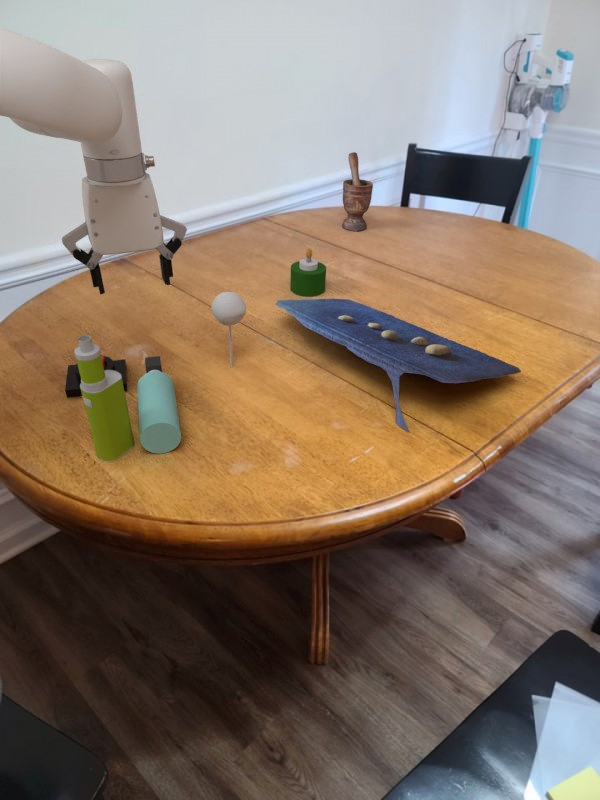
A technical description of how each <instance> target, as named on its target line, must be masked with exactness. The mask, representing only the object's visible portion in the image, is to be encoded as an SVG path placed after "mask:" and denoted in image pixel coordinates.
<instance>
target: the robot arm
mask: <svg viewBox="0 0 600 800" xmlns="http://www.w3.org/2000/svg"><path fill="white" fill-rule="evenodd" d="M134 89H135V88H134V81H133V77H132V72H131V70H130V68H129V67H128V66H127V64H125V63H124V62H122V61H120V60H115V59H105V58H91V59H88V58H87V59H81V60H80V59H78V58H76V57H75V56H72V55H70V54H68V53H66V52H64V51H62V50H60V49H58V48H56V47H53V46H51V45H48V44H46V43H44V42H42V41H39V40H37V39H35V38H31V37H29V36H27V35H24V34H22V33H20V32H19V33H18V32H16V31H13V30H10V29H8V28H5V27H2V26H0V116H1V117H6V118H9V119H10V120H11V122H13V123H14V124H15V125H16V126H17V127H20V128H21V129H23V130H25V131H27V132H30V133H31V134H35V135H39V136H45V137H50V138H56V139H64V140H69V141H74V142H77V143H80V147H81V151H82V158H83V162H84V167H85V172H86V176H83V177H82V178H81V199H82V207H83V213H84V220H85V222H83V223H81V224H80V225H78V226H77V227H75V228H74V229H72V230H70V232H67V233H66V234H64V235H63V236H62V238H61V243H62V245H63V246H64V247H65V248H66V249H67V251H68V252H69V253H70V254H71V256H72V257H73V258H74V259H75V260H77V261H78V262H80V263H81V264H83V265H84V266H86V267H87V269H89V274H90V278H91V283H92V286H93V287H92V288H98V292H99V295H105V293H106V292H105V286H104V281H103V277H102V271H101V267H100V263H99V262H100V261H101V260H102V258H103V256H112V255H119V254H128V253H136V252H145V251H153V250H156V251H157V252H158V253H159V255H158V256H159V265H160V272H161V278H162V280H163V283H164V285H165V286H170V285H171V278H173V277H174V272H173V262H172V260H173V259H174V255H175V254H176V253H177V252H178V250H179V249H180V248H181V247H182V243H183V240H184V239H185V236H186V233H187V231H188V228H187V227H186V225H185V224H184V223H182V222H180V221H177V220H175V219H172V218H169V217H166V216H164V215H161V213H160V208H159V203H158V199H157V196H156V192H155V188H154V185H153V180H152V177H151V175H150V174H149V173H148V172H146V171H147V170H148V169H149V168H151V167H152V168H153V167H156V163H155V157H154V155H147V154H145V153H144V152H143V150H142V142H141V134H140V127H139V121H138V113H137V105H136V96H135V90H134ZM163 228H165V229H168V230H170V231H173V232H174V233H173V236H172V237H171V238H170V239H169V241H168V242H167V243H166V242H164V231H163V230H164V229H163ZM86 236H88V237H87V238H88V240H89V242H90V243H89V244H90V245H91V247H90V249H89V250H88V252H86V251H85V250H84V249H82V248H80V247H79V246H78V244H77V242H79V241H80V240H82V239H84V238H85V237H86Z"/></svg>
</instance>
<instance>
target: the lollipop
mask: <svg viewBox="0 0 600 800" xmlns="http://www.w3.org/2000/svg"><path fill="white" fill-rule="evenodd" d="M211 312H212V315H213V317H214V319H215V321H217V322H218V323H220V324H221V325H224V326H228V327H227V328H228V344H229V345H228V346H229V365H230V368H233V367H234V361H233V360H234V359H233V339H232V337H233V335H232V326H234V325H238V324H239V323H240V322H241V321H242V320H243V319H244V317H245V314H246V312H247V305H246V301H244V299H243V297H242V296H241V295H240V294H238V293H237V292H234V291H230V290H229V291H222V292H220V293H219V294H218V295H216V296H215V298H214V299H213V301H212V303H211Z"/></svg>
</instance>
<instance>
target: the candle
mask: <svg viewBox="0 0 600 800" xmlns="http://www.w3.org/2000/svg"><path fill="white" fill-rule="evenodd" d="M312 256H313V250H312V249H311V248H307V249H306V251H305V258H302V259H300V260H298V261H295V262H293V263H291V264H290V279H289V280H290V282H289V283H290V285H289V288H290V292H291V293H293V294H294V295H296V296H300V297H305V298H311V297H317V296H321V295H323V294H324V293H325V292H326V279H327V266H326V265H325V264H324V263H322V262H320V261H318V260H316V259H314V258H312Z"/></svg>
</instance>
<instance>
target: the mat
mask: <svg viewBox="0 0 600 800" xmlns="http://www.w3.org/2000/svg"><path fill="white" fill-rule="evenodd" d="M275 306H276V307H278V308H279V309H281V310H284V311H286V312H287V313H289V314H290V315H291V316H293V317H294V318H295V319H296V320H297V322H298V323H300V324H301V325H302V326H303V327H305V328H307V329H308V330H311V331H313V332H314V333H316V334H318V335H320V336H322V337H324V338H325V339H328V340H330V341H331V342H333V343H335V344H339V345H341V346H344V347H346V349H347V350H348V351H350V352H351V353H353V354H354V355H356V357H359V358H361V359H362V360H364V361H365V362H367V363H369V364H373V365H375V366H377V367H379V368H381V369H382V370H383V371H385V372H386V374H387V376H388V378H389V380H390V381H391V386H392V392H393V393H392V394H393V398H394V402H395V403H394V404H395V424H396V425H397V426H399V428H400V427H401V428H402V429H403V430H405V431H406V432H407V433H408V434H409V433H411V432H410V431H409V428H408V426H407V423H406V420H405V418H404V415H403V412H402V409H401V406H400V404H399V399H400V398H399V397H400V377H401V376H402V375H404V374H406V373H407V374H415V375H422V376H426V377H430V378H431V379H433V380H435V381H438V382H440V383H444V384H460V383H470V382H476V381H481V380H485V379H486V380H487V379H497V378H501V377H506V376H511V375H516V374H521V372H522V370H521V368H519V366H515V365H513V364H511V363H508V362H506V361H504V360H501V359H500V358H496V357H495V356H491V355H488V354H487V353H485V352H483V351H480V350H478V349H474V348H472V347H469V346H467V345H464V344H462V343H460V342H458V341H457V342H456V341H454V340H451V339H448V338H447V337H444V336H441V335H439V334H436V333H434V332H432V331H429V330H428V329H425V328H423V327H421V326H417V325H415V324H413V323H411V322H407V321H405V320H403V319H400V318H398V317H395V316H394V315H392V314H389V313H387V312H384V311H381V310H379V309H376V308H374V307H371V306H368V305H366V304H363V303H361V302H359V301H356V300H352V299H349V298H334V297H333V298H299V299H278V300H277V301H276V302H275Z"/></svg>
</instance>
